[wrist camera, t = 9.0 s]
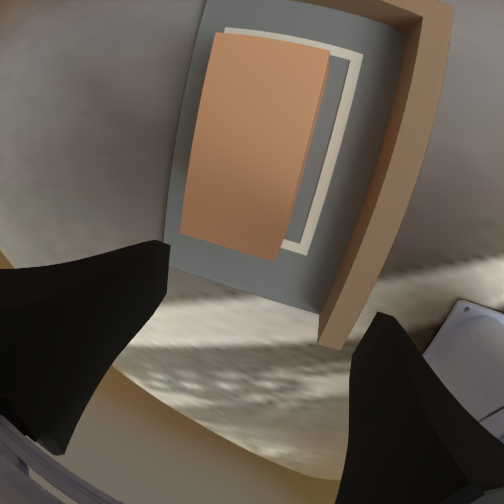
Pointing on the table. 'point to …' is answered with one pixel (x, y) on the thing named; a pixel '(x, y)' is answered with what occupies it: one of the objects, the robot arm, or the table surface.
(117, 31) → the table surface
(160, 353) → the table surface
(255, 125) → the terracotta block
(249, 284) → the arena
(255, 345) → the table surface
